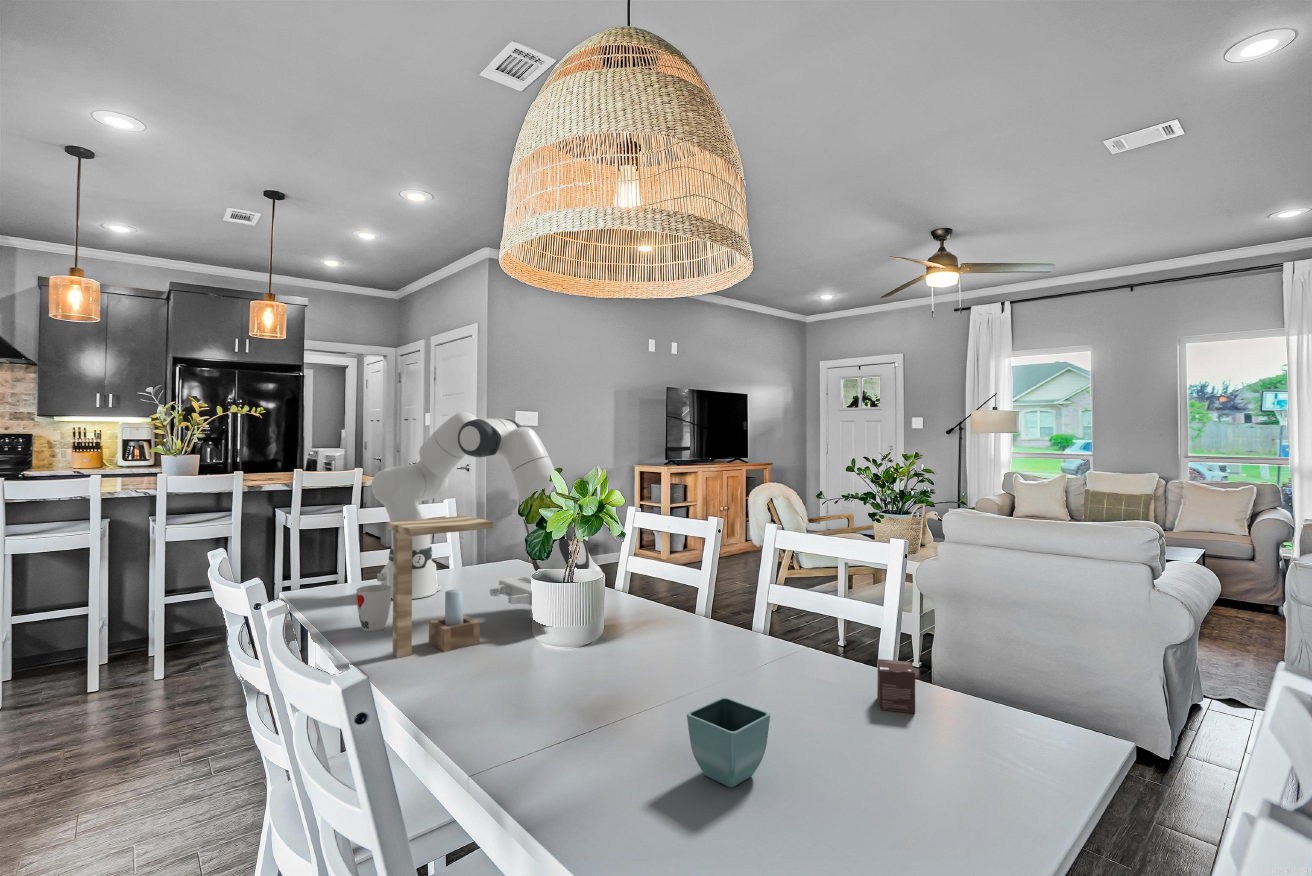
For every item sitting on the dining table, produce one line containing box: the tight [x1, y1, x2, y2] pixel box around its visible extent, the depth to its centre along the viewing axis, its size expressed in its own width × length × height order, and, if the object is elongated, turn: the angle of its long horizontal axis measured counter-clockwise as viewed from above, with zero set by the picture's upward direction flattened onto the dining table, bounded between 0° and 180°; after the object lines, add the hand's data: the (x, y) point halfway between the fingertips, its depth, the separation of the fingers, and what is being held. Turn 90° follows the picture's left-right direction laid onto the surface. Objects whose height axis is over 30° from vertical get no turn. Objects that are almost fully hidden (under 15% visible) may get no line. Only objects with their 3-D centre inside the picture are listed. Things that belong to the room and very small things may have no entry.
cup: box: [356, 584, 392, 632], centre depth 160 cm, size 8×8×10 cm
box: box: [876, 658, 916, 714], centre depth 116 cm, size 6×6×7 cm
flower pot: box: [686, 696, 771, 788], centre depth 92 cm, size 9×9×9 cm
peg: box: [444, 589, 464, 627], centre depth 149 cm, size 4×4×12 cm
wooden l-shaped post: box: [386, 515, 494, 659], centre depth 147 cm, size 14×20×28 cm
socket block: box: [428, 614, 481, 653], centre depth 149 cm, size 8×8×5 cm
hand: (500, 596), depth 158 cm, fingers open, 8 cm apart
